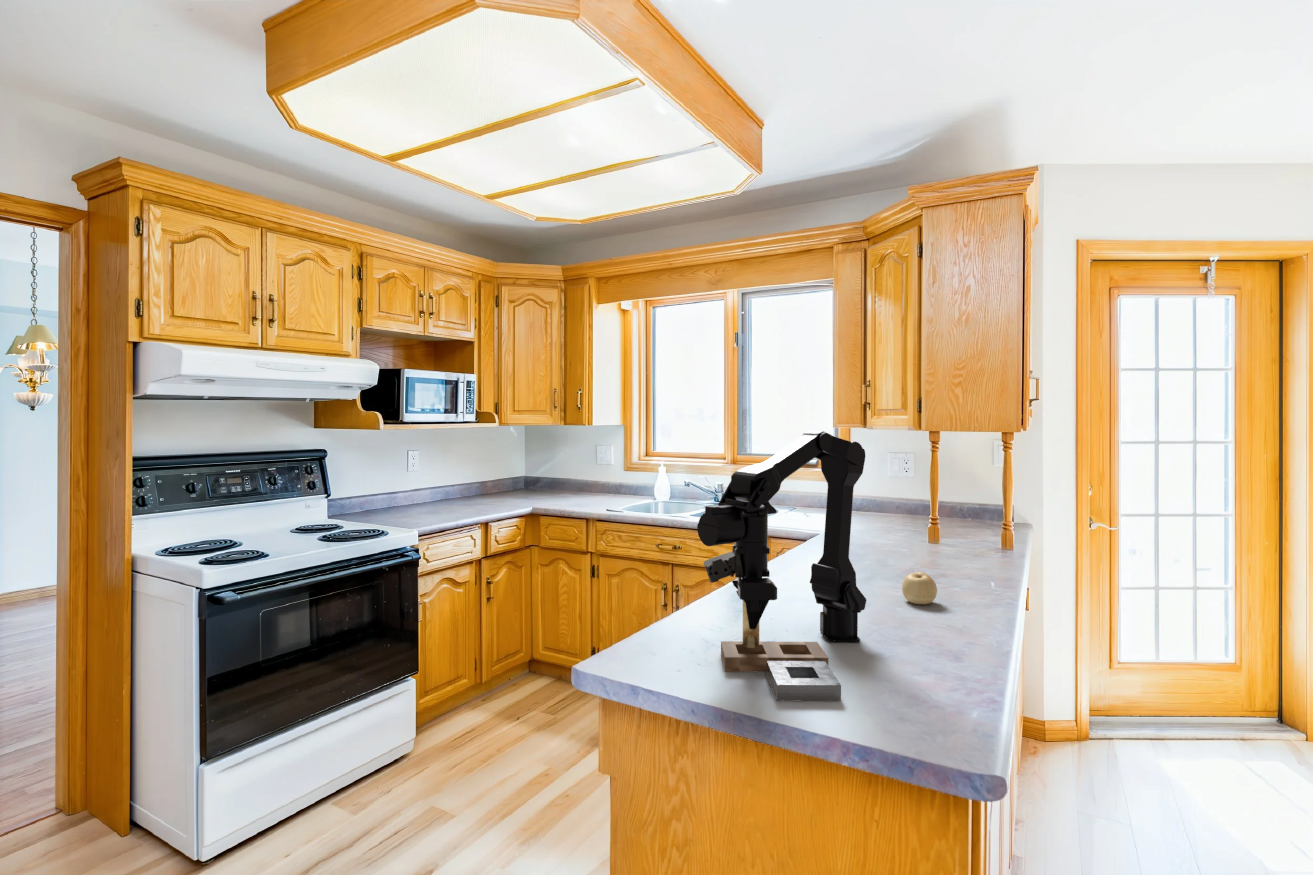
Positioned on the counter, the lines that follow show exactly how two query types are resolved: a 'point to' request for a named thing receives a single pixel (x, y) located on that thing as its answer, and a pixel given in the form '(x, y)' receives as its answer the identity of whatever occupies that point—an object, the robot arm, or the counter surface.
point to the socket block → (803, 681)
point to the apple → (919, 588)
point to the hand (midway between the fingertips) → (751, 625)
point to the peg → (749, 632)
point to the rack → (767, 654)
